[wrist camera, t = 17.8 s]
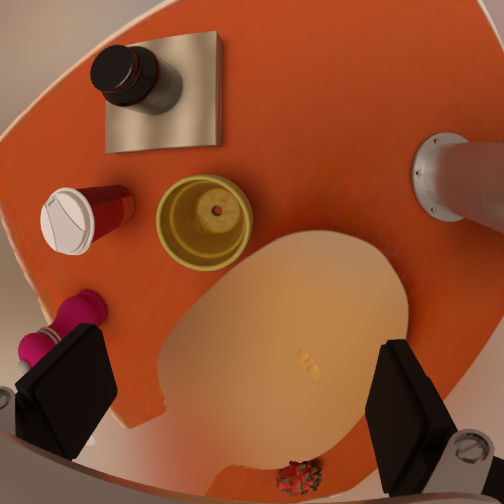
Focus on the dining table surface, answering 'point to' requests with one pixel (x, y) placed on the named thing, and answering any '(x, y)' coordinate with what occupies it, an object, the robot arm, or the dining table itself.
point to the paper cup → (84, 216)
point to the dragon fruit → (299, 478)
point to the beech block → (187, 107)
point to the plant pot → (204, 222)
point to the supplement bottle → (136, 79)
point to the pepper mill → (61, 327)
